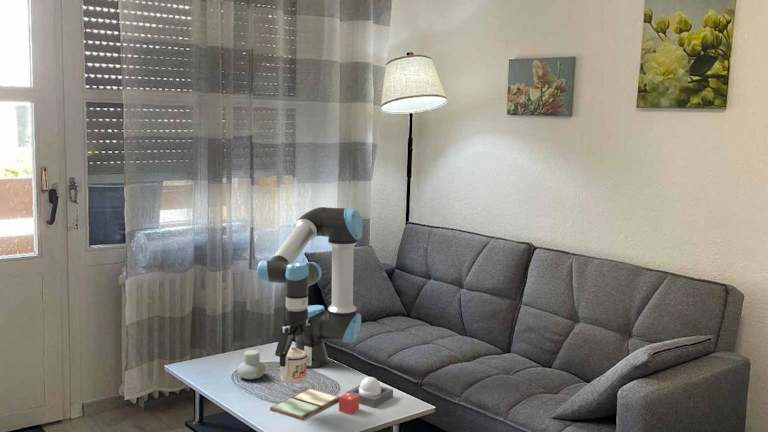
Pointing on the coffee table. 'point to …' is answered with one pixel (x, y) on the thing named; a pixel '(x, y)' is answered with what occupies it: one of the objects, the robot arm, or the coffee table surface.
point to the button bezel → (370, 401)
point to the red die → (349, 403)
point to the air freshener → (251, 366)
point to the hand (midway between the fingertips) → (296, 369)
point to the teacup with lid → (296, 366)
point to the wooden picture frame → (305, 403)
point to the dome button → (370, 387)
